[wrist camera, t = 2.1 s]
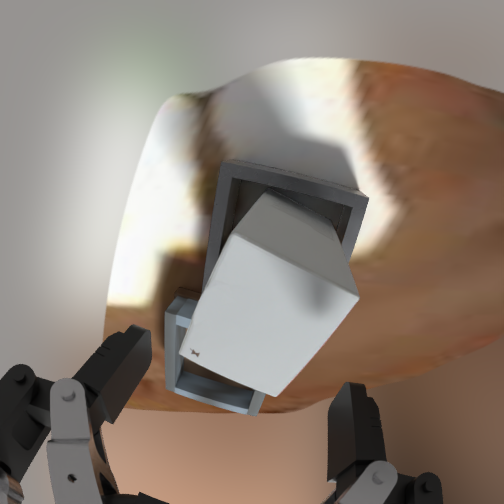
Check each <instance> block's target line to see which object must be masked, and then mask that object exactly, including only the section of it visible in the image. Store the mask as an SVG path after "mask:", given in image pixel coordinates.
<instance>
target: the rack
mask: <svg viewBox="0 0 504 504" xmlns="http://www.w3.org/2000/svg"><path fill="white" fill-rule="evenodd" d="M201 295H202V294H201V293H197V292H194V291H191V290H187V289H184V288H181V287H179V288H178V289H177V291H176V292H175V299H174V301H173V302H172V303H171V304H170V306H169V307H168V308H167V309H166V311H165V379H166V389H168V390H170V391H173V392H175V393H177V394H180V395H183V396H186V397H188V398H191V399H194V400H197V401H200V402H204V403H207V404H210V405H213V406H217V407H220V408H223V409H227V410H231V411H234V412H238V413H242V414H248V415H252V416H257V414H258V411H259V409H260V407H261V404H262V402H263V400H264V397H265V395H266V393H263V392H260V391H258V390H255V389H252V388H250V387H248V386H245V385H243V384H240V383H238V382H236V381H233V380H231V379H228V378H226V377H224V376H222V375H220V374H217V373H215V372H213V371H211V370H209V369H207V368H205V367H203V366H201V365H199V364H197V363H195V362H193V361H191V360H189V359H188V358H186V357H184V356H182V355H180V354H179V350H180V348H181V345H182V342H183V340H184V337H185V335H186V332H187V330H188V327H189V325H190V322H191V319H192V315H193V313H194V311H195V308H196V306H197V303H198V301H199V299H200V297H201Z"/></svg>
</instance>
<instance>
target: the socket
mask: <svg viewBox="0 0 504 504" xmlns="http://www.w3.org/2000/svg"><path fill="white" fill-rule="evenodd" d="M241 179H242V180H247V181H252V182H256V183H261V184H265V185H270V186H274V187H278V188H282V189H287V190H291V191H295V192H299V193H303V194H306V195H310V196H314V197H318V198H322V199H325V200H329V201H333V202H336V203H340V204H343V205H344V207H343V210H342V214H341V217H340V221H339V224H338V227H337V231H336V233H337V236H338V238H339V241H340V244H341V246H342V249H343V252H344V254H345V257H346V260H347V262H348V263H349V260H350V257H351V254H352V251H353V249H354V246H355V243H356V240H357V237H358V233H359V230H360V227H361V224H362V221H363V218H364V214H365V211H366V208H367V204H368V201H369V197H367V196H366V195H365V194H363V193H362V192H361V191H359V190H356V189H353V188H349V187H346V186H342V185H339V184H335V183H332V182H328V181H325V180H321V179H317V178H313V177H309V176H306V175H302V174H298V173H293V172H289V171H285V170H281V169H276V168H272V167H267V166H263V165H258V164H253V163H248V162H243V161H238V160H227V161H222V162H221V166H220V172H219V178H218V183H217V189H216V195H215V202H214V208H213V214H212V221H211V227H210V234H209V241H208V248H207V256H206V263H205V271H204V278H203V287H202V293H203V291H204V288H205V286H206V284H207V282H208V280H209V278H210V275H211V273H212V271H213V269H214V267H215V265H216V263H217V260H218V258H219V256H220V254H221V252H222V250H223V248H224V245H225V243H226V241H227V239H228V237H229V235H230V234H231V231H232V225H233V219H234V214H235V208H236V203H237V198H238V192H239V187H240V182H241Z"/></svg>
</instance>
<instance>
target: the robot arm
mask: <svg viewBox="0 0 504 504" xmlns="http://www.w3.org/2000/svg"><path fill="white" fill-rule="evenodd" d="M151 360H152V348H151V332H150V330H147V329H145V328H142V327H139V326H137V325H134V324H133V325H131V326H130V327H129V328H128V329H127V330H126V332H125V333H121V332H119V331H118V332H117V333H115V334H113V335H111V336H109V337H108V338H107V339H106V340H105V341H104V342H103V343H102V344H101V347H99V348H98V349H97V350H96V351H95V353H93V355H92V356H91V357H90V358H89V359H88V360H87V361H86V363H85V364H84V365H83V366H82V367H81V368H80V370H79V371H78V372H77V373H76V374H75V375H74V377H72V378H63V379H60V380H58V381H56V382H52V381H49V380H46V379H42V378H39V377H36V375H35V373H34V371H33V370H32V369H31V368H30V367H29V366H27V365H24V364H19V365H15V366H13V367H12V368H11V369H10V370H9V371H8V372H7V373H6V374H5V375H4V376H3V378H2V379H1V380H0V504H21V503H22V501H23V500H24V495H23V491H22V488H21V485H20V482H21V480H22V478H23V476H24V474H25V473H26V471H27V469H28V467H29V466H30V464H31V462H32V460H33V459H34V457H35V455H36V454H37V452H38V450H39V449H40V447H41V445H42V444H43V442H44V440H45V439H46V437H47V436H48V434H49V432H50V431H51V435H52V437H51V440H49V441H48V442H47V458H48V466H49V472H50V478H51V484H52V489H53V494H54V499H55V504H169V503H166V502H164V501H161V500H158V499H156V498H153V497H150V496H148V495H146V494H143V493H141V492H139V494H138V496H137V495H130V494H120V493H119V490H118V487H117V484H116V481H115V478H114V476H113V473H112V471H111V469H110V466H109V462H108V459H107V454H106V449H105V445H104V440H103V435H102V430H101V425H102V424H103V422H104V421H107V422H109V423H111V424H113V423H114V422H115V420H116V419H117V417H118V416H119V414H120V412H121V411H122V409H123V408H124V406H125V404H126V403H127V401H128V400H129V398H130V397H131V395H132V393H133V392H134V390H135V389H136V387H137V385H138V384H139V382H140V381H141V379H142V378H143V376H144V375H145V373H146V371H147V370H148V368H149V366H150V363H151ZM381 427H382V425H381V420H380V414H379V408H378V406H377V404H376V403H375V401H374V399H373V398H371V397H367V393H366V388H365V385H364V384H359V383H352V382H346V383H344V385H343V386H342V388H341V389H340V391H339V392H338V394H337V395H336V397H335V398H334V400H333V401H332V403H331V405H330V407H329V411H328V470H327V482H336V489H334V490H333V491H332V493H331V494H330V495H329V496H328V497H327V498H326V499H325V500H324V501H323V502H322V503H321V504H443V497H442V487H441V482H440V479H439V478H438V477H437V476H436V475H435V474H433V473H430V472H427V473H423V474H421V475H419V476H418V477H411V476H407V475H402V474H399V473H397V471H396V469H395V468H394V466H393V465H391V464H390V463H388V462H387V460H386V453H385V445H384V439H383V432H382V429H381Z"/></svg>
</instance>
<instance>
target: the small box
mask: <svg viewBox="0 0 504 504" xmlns="http://www.w3.org/2000/svg"><path fill="white" fill-rule="evenodd" d="M359 299H360V297H359V293H358V290H357V288H356V285H355V282H354V279H353V276H352V273H351V270H350V267H349V265H348V262H347V260H346V257H345V254H344V252H343V249H342V246H341V244H340V241H339V238H338V236H337V233H336V231H335V229H334V226H333V224H332V221H331V220H329V219H327V218H326V217H324V216H322V215H320V214H318V213H316V212H314V211H313V210H311V209H309V208H307V207H305V206H303V205H301V204H299V203H297V202H295V201H294V200H292V199H290V198H288V197H286V196H284V195H282V194H280V193H278V192H276V191H274V190H272V189H270V188H267V189H266V190H265V192H264V193H263V194H262V195H261V197H260V198H259V199H258V200H257V201H256V202H255V204H254V205H253V206H252V207H251V209H250V210H249V211H248V212H247V214H246V215H245V216H244V217H243V218H242V220H241V221H240V222H239V223H238V225H237V226H236V227H235V228H234V230H233V231H232V232H231V234H230V235H229V237H228V239H227V241H226V243H225V245H224V248H223V250H222V252H221V254H220V256H219V258H218V260H217V263H216V265H215V267H214V269H213V271H212V273H211V275H210V278H209V280H208V282H207V284H206V286H205V288H204V291H203V293H202V295H201V297H200V299H199V301H198V303H197V306H196V308H195V311H194V313H193V315H192V319H191V322H190V325H189V327H188V330H187V332H186V335H185V337H184V340H183V342H182V345H181V348H180V350H179V354H180V355H182V356H184V357H186V358H188V359H189V360H191V361H193V362H195V363H197V364H199V365H201V366H203V367H205V368H207V369H209V370H211V371H213V372H215V373H217V374H220V375H222V376H224V377H226V378H228V379H231V380H233V381H236V382H238V383H240V384H243V385H245V386H248V387H250V388H252V389H255V390H258V391H260V392H263V393H266V394H269V395H271V396H274V397H277V396H278V395H279V394H280V393H281V392H282V391H283V390H284V389H285V388H286V387H287V386H288V385H289V384H290V383H291V382H292V381H293V380H294V378H295V377H296V376H297V375H298V374H299V373H300V372H301V371H302V370H303V369H304V367H305V366H306V365H307V364H308V363H309V361H310V360H311V359H312V358H313V357H314V356H315V355H316V354H317V352H318V351H319V350H320V349H321V348H322V347H323V345H324V344H325V343H326V342H327V341H328V339H329V338H330V337H331V335H332V334H333V333H334V332H335V331H336V329H337V328H338V327H339V325H340V324H341V323H342V322H343V320H344V319H345V318H346V316H347V315H348V314H349V313H350V311H351V310H352V308H353V307H354V306H355V304H356V303H357V302H358V301H359Z"/></svg>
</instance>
